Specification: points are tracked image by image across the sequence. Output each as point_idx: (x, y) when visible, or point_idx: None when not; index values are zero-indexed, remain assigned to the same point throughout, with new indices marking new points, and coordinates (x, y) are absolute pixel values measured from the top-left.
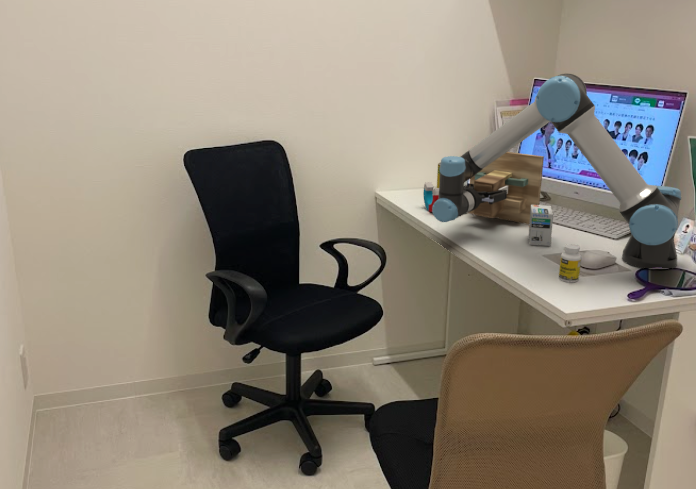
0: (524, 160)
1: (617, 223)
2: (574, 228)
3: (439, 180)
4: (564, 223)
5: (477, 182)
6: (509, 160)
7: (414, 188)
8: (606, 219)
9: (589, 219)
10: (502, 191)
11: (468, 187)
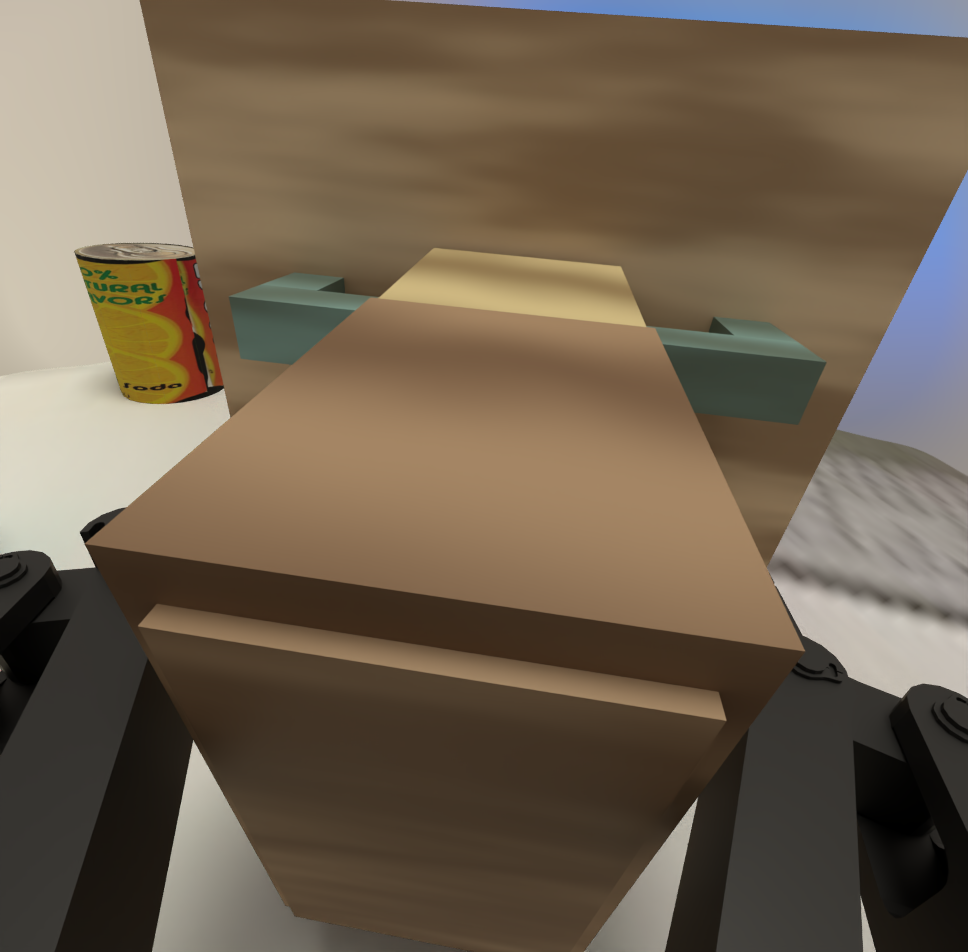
0: (780, 108)
1: (933, 489)
2: (918, 605)
3: (107, 335)
4: (806, 552)
5: (204, 586)
6: (593, 122)
7: (21, 373)
8: (858, 466)
9: (820, 481)
10: (839, 676)
11: (70, 598)
